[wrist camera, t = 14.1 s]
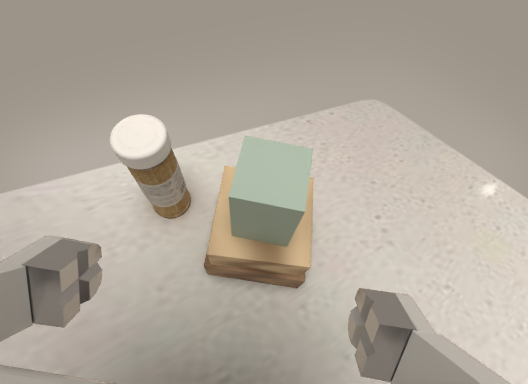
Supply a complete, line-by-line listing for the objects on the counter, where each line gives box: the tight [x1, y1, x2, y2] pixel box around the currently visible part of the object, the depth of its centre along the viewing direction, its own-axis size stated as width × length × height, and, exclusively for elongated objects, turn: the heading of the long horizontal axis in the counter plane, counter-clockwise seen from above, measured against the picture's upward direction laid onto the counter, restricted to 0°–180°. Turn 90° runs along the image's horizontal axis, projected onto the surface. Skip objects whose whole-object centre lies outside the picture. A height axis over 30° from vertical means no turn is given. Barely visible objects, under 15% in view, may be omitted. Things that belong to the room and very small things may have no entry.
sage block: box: [229, 136, 313, 247], centre depth 23 cm, size 5×5×8 cm
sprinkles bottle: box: [110, 114, 190, 218], centre depth 29 cm, size 5×5×13 cm
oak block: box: [207, 166, 314, 276], centre depth 29 cm, size 9×9×4 cm
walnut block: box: [204, 250, 305, 288], centre depth 32 cm, size 10×10×4 cm
